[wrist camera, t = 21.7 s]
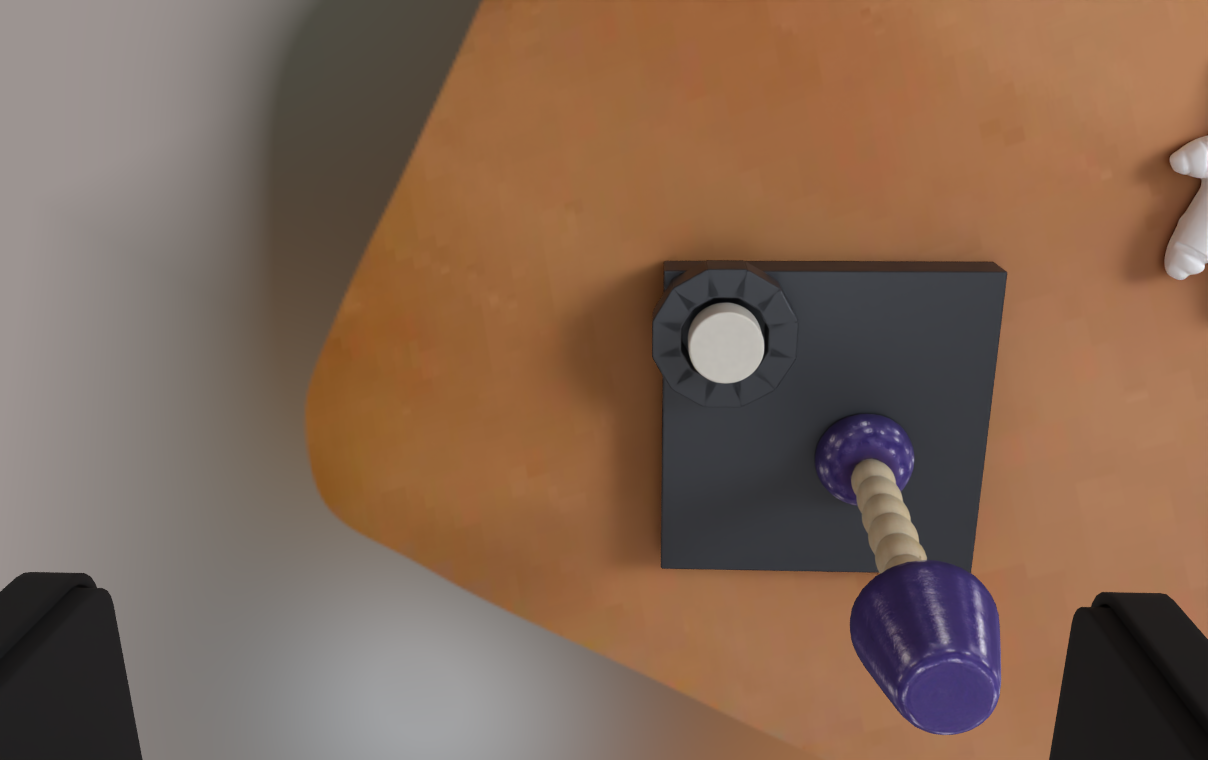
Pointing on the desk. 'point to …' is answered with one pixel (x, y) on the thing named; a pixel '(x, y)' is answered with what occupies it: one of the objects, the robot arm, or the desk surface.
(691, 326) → the button
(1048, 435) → the desk surface
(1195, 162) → the white flat figure
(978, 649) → the toy lamp
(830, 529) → the scale
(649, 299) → the desk surface
